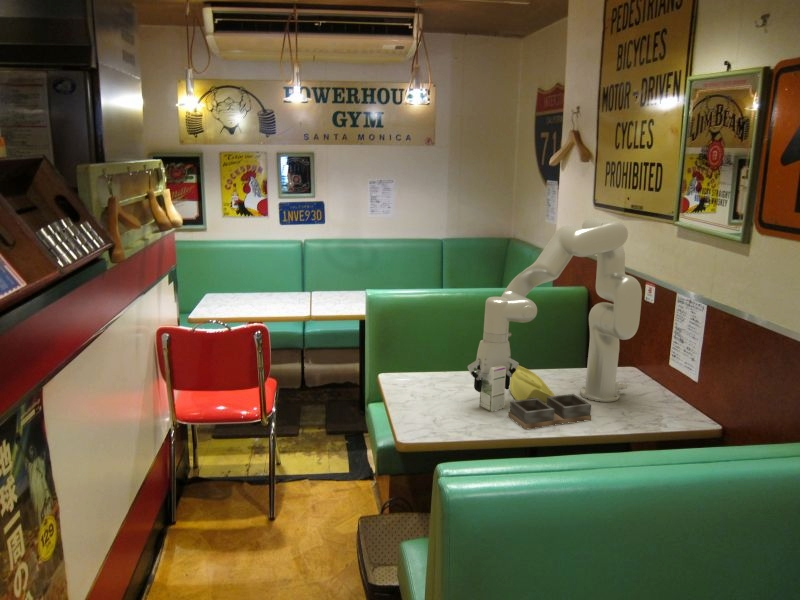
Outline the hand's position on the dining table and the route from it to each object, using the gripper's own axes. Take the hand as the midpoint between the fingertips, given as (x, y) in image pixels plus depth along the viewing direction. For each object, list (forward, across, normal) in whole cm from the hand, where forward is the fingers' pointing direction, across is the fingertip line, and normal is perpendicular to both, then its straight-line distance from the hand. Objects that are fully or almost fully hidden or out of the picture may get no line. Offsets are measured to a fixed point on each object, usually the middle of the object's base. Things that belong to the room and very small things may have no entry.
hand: (491, 389), depth 214 cm
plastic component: (+6, -18, -6) cm, 20 cm away
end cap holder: (+6, -13, +13) cm, 20 cm away
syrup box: (+6, 0, 0) cm, 6 cm away
